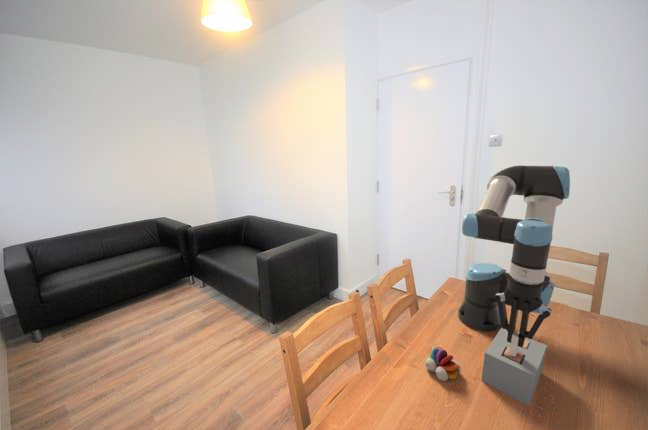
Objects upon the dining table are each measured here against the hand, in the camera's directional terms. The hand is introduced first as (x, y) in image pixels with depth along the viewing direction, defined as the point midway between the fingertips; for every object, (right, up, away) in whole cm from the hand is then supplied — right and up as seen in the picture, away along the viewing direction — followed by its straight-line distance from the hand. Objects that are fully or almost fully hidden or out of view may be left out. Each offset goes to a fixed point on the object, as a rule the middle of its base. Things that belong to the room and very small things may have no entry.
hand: (513, 353), depth 79 cm
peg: (0, -10, +3) cm, 10 cm away
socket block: (+3, -10, +5) cm, 11 cm away
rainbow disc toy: (-17, -10, +8) cm, 21 cm away
